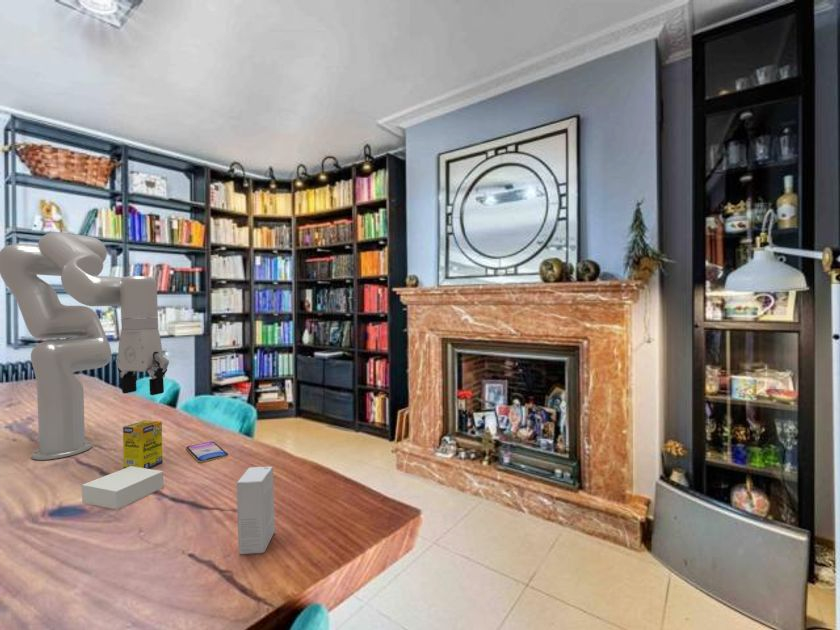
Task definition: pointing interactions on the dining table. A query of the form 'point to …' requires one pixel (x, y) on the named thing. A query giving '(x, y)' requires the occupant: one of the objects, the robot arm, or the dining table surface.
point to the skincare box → (255, 510)
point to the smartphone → (206, 452)
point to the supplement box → (142, 444)
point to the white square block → (122, 487)
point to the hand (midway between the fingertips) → (143, 393)
